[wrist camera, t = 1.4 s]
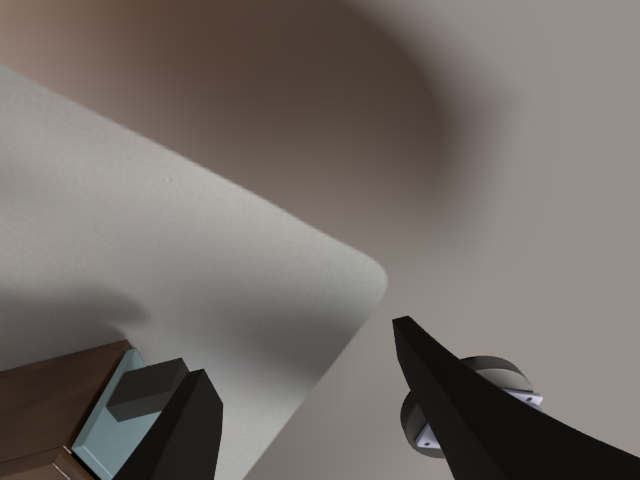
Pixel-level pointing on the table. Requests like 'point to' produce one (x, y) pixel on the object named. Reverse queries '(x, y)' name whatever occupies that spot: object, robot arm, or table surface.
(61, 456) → the cabinet
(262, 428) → the table surface
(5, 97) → the table surface
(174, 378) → the glass door
